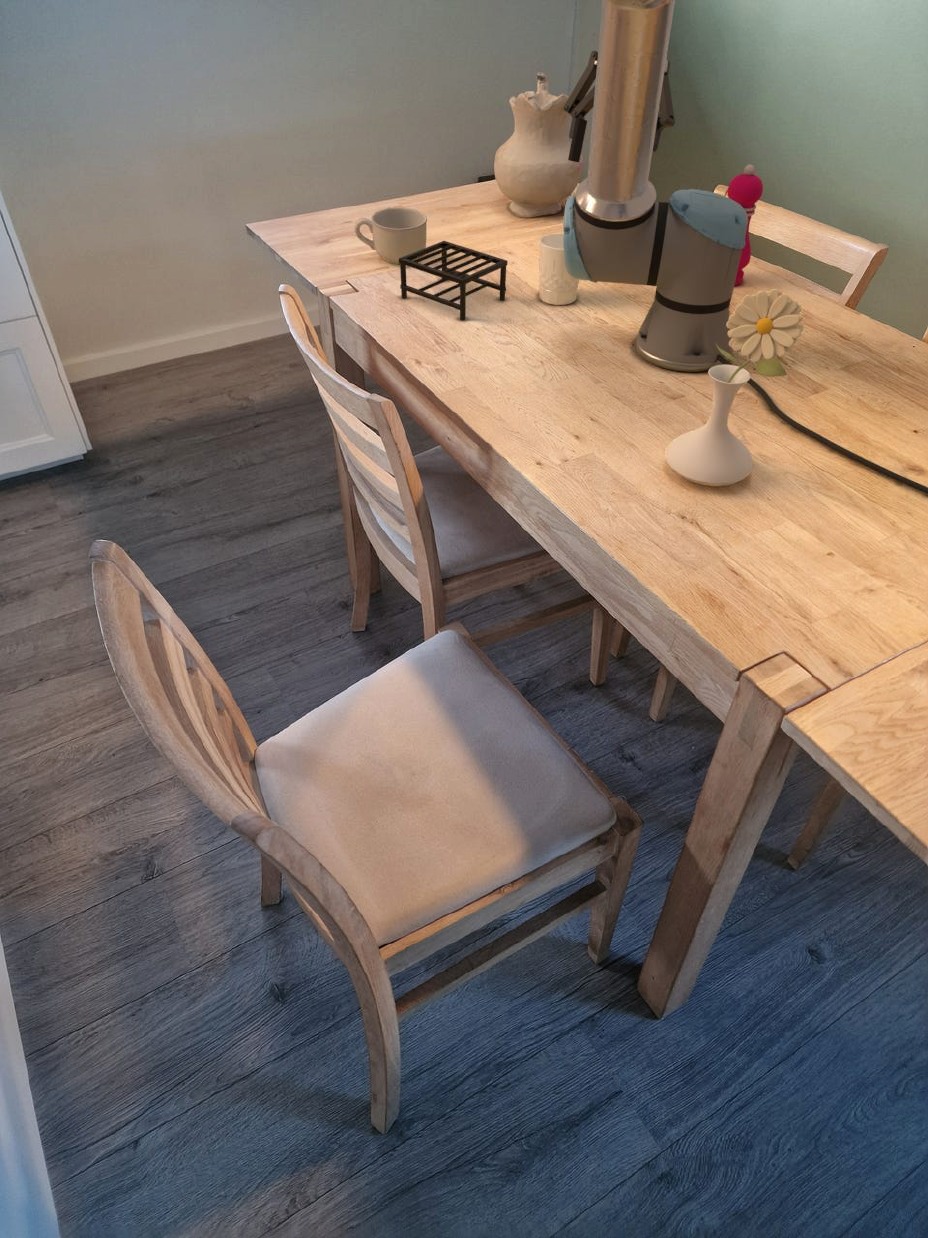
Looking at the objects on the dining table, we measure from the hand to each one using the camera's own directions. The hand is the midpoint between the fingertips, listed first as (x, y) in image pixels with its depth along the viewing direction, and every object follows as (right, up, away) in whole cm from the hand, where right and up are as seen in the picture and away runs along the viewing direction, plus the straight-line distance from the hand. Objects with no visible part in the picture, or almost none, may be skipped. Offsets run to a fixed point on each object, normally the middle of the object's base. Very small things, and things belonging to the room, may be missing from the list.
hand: (606, 166), depth 145 cm
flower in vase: (+8, -59, -34) cm, 69 cm away
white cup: (-8, -20, +7) cm, 23 cm away
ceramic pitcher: (-9, +15, +44) cm, 47 cm away
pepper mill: (+25, -14, +14) cm, 32 cm away
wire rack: (-27, -21, +6) cm, 34 cm away
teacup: (-39, -7, +21) cm, 45 cm away
